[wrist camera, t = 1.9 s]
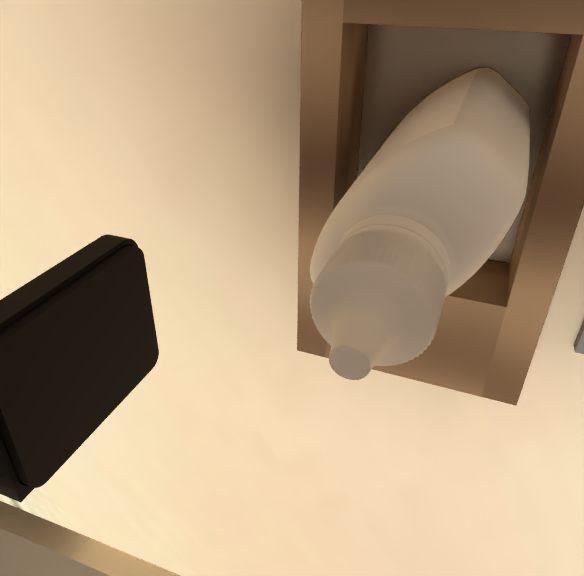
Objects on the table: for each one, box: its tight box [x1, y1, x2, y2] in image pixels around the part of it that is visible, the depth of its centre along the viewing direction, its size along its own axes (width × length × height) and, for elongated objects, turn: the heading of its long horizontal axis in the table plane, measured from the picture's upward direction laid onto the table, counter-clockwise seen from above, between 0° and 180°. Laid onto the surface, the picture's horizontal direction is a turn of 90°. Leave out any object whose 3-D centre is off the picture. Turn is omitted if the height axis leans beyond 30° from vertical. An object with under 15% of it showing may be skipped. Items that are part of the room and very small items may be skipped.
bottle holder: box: [297, 0, 584, 405], centre depth 17 cm, size 16×8×3 cm, turn 0°
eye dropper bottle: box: [309, 68, 530, 380], centre depth 13 cm, size 4×6×12 cm
